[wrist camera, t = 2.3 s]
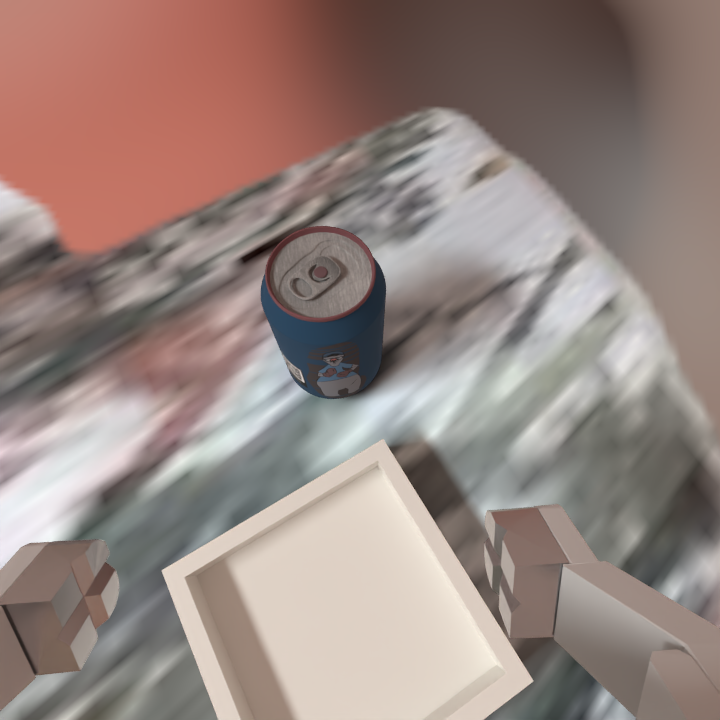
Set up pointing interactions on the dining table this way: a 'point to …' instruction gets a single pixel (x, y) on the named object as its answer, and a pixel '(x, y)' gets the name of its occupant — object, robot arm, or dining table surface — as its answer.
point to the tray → (343, 609)
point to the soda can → (326, 309)
